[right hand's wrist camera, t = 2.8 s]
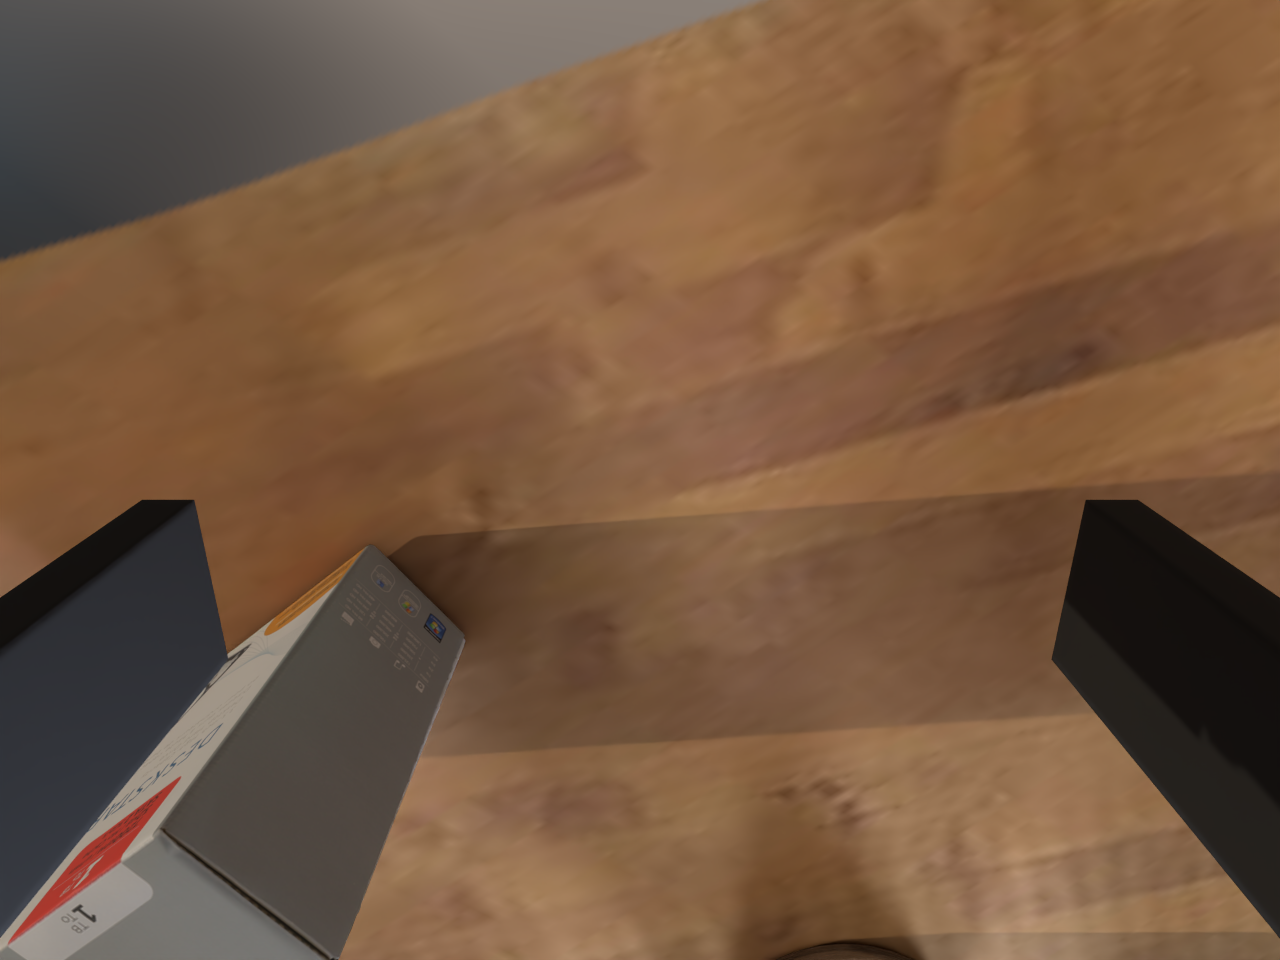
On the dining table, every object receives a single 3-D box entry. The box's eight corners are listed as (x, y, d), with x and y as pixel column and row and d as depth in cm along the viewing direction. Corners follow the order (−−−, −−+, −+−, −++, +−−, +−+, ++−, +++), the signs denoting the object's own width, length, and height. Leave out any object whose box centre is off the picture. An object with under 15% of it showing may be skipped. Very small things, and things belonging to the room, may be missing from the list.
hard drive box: (371, 535, 43) (166, 825, 24) (471, 635, 45) (353, 971, 26) (174, 690, 46) (-136, 1047, 28) (276, 776, 49) (51, 1160, 30)
